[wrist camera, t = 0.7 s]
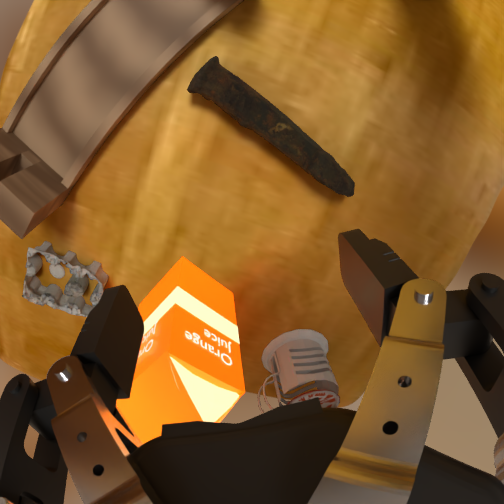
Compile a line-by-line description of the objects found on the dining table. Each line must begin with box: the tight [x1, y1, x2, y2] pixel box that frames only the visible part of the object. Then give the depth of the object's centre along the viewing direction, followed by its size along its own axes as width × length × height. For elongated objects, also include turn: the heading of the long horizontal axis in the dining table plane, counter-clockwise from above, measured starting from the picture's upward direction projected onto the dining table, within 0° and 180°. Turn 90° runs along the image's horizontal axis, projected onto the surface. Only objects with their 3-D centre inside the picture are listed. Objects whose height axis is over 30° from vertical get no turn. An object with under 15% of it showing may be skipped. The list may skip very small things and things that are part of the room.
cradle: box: [0, 0, 244, 239], centre depth 19 cm, size 30×11×9 cm, turn 135°
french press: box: [258, 329, 340, 414], centre depth 31 cm, size 10×12×25 cm
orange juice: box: [116, 256, 245, 444], centre depth 27 cm, size 8×9×20 cm
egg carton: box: [22, 241, 108, 317], centre depth 31 cm, size 11×8×4 cm
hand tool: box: [187, 56, 355, 197], centre depth 27 cm, size 19×4×5 cm, turn 49°
